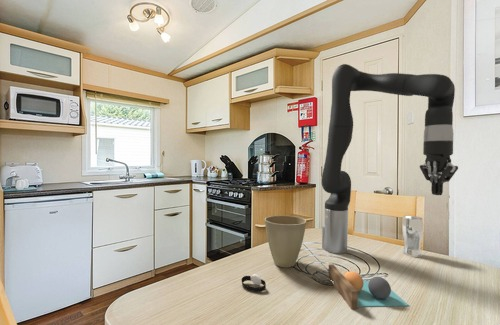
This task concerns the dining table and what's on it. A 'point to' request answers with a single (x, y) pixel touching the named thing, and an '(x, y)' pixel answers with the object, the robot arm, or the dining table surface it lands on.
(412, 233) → the beer glass
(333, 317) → the dining table surface
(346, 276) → the terracotta ball
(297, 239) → the plant pot
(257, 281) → the watch
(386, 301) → the teal mark
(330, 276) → the walnut stopper
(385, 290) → the charcoal ball
